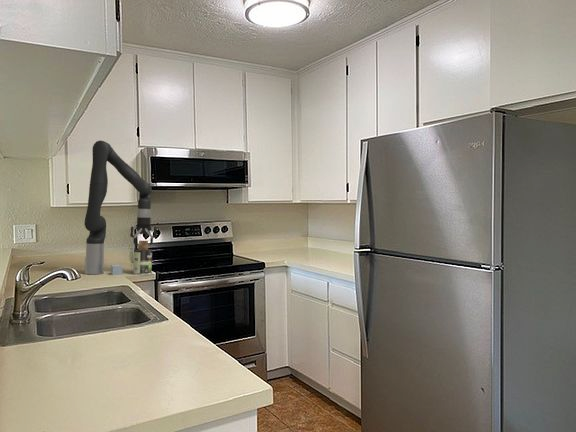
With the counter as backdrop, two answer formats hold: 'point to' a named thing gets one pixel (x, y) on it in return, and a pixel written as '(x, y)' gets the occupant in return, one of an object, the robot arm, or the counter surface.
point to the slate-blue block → (116, 269)
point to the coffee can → (142, 262)
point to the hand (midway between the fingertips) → (143, 244)
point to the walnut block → (143, 245)
